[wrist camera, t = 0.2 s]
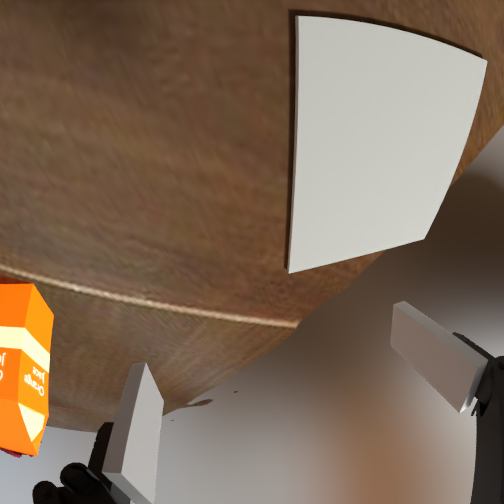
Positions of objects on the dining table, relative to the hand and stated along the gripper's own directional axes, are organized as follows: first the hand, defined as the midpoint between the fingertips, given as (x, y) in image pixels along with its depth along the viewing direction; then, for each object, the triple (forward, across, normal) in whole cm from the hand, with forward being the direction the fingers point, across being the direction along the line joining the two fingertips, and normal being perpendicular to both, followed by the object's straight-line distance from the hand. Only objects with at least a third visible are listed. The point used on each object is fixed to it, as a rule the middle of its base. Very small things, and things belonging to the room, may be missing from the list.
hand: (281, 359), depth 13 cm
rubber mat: (+13, +17, +8) cm, 23 cm away
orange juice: (+18, -30, 0) cm, 35 cm away
